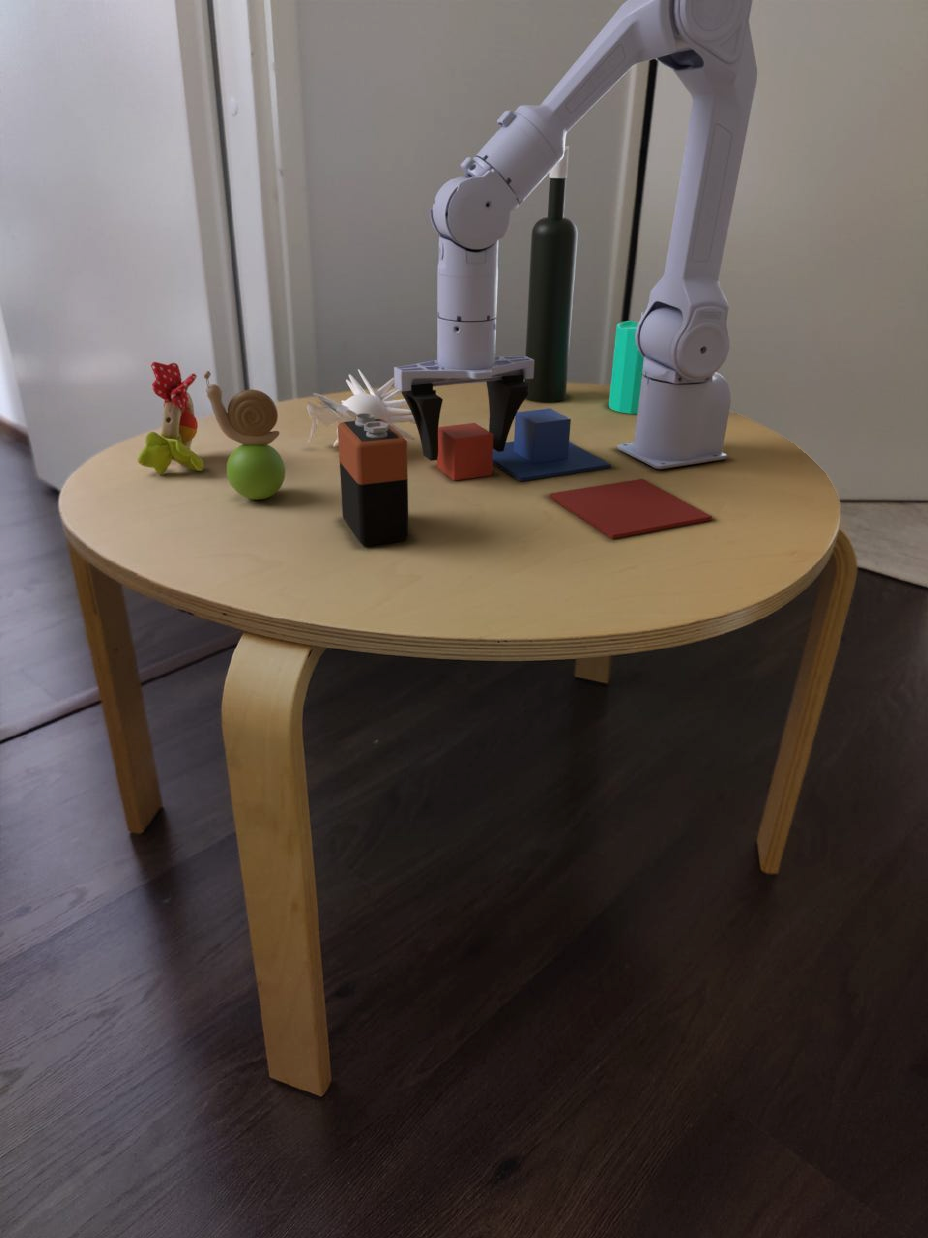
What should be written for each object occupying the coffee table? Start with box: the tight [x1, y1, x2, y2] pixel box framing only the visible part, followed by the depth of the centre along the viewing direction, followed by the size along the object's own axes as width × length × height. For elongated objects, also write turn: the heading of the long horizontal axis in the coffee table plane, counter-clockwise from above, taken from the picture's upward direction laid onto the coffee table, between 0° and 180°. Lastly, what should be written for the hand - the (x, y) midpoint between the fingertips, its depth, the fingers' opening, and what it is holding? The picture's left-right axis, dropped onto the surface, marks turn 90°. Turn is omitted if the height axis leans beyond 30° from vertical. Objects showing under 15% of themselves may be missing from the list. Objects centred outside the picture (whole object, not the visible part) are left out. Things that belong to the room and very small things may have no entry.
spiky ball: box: [306, 368, 416, 448], centre depth 94 cm, size 11×12×8 cm
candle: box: [608, 311, 644, 415], centre depth 111 cm, size 6×6×12 cm
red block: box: [436, 422, 493, 481], centre depth 90 cm, size 4×4×4 cm
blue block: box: [513, 408, 572, 463], centre depth 93 cm, size 4×4×4 cm
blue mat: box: [492, 441, 611, 482], centre depth 95 cm, size 11×11×1 cm
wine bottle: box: [523, 145, 579, 403], centre depth 110 cm, size 6×6×30 cm
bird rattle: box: [137, 361, 205, 475], centre depth 89 cm, size 6×11×9 cm
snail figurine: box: [203, 370, 286, 501], centre depth 80 cm, size 5×6×12 cm
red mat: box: [549, 478, 713, 540], centre depth 82 cm, size 11×11×1 cm
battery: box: [337, 413, 409, 547], centre depth 74 cm, size 4×7×10 cm, turn 21°
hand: (464, 453), depth 90 cm, fingers open, 7 cm apart
